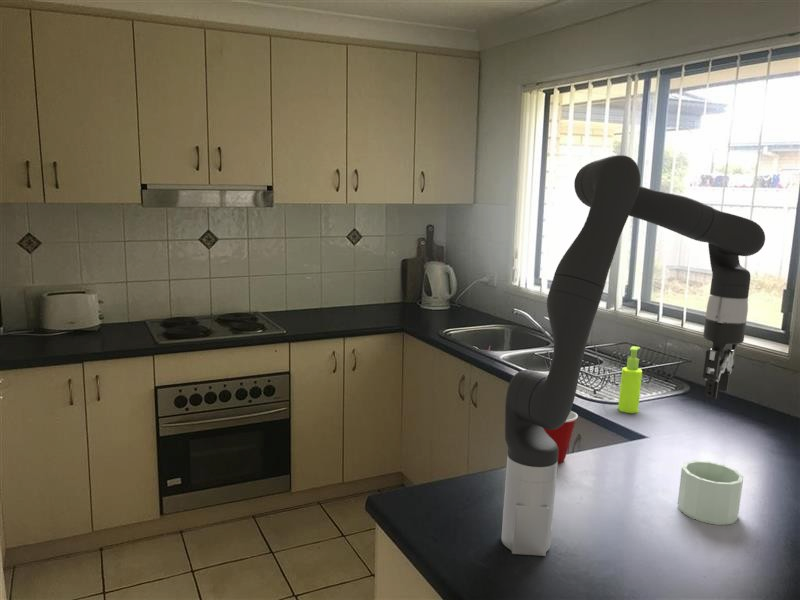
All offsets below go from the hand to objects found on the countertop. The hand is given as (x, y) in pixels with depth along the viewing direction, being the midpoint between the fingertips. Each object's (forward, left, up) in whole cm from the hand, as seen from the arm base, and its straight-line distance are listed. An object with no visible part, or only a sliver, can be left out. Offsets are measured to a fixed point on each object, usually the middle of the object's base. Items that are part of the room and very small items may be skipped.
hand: (715, 394), depth 139 cm
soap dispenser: (+67, -3, -26) cm, 72 cm away
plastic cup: (+24, +28, -26) cm, 45 cm away
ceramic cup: (0, -1, -26) cm, 26 cm away
